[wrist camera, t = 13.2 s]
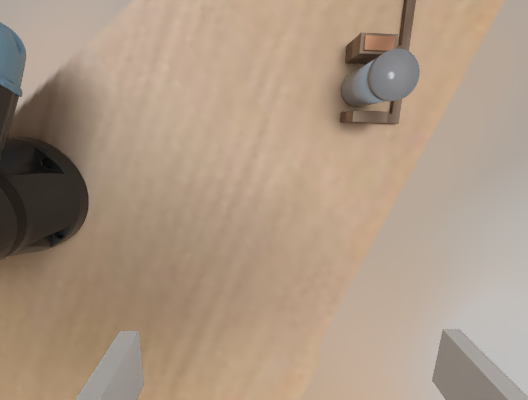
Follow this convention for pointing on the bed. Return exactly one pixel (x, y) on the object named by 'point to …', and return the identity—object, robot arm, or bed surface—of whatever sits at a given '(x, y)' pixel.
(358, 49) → the clip rack
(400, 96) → the fuse
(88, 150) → the bed surface
